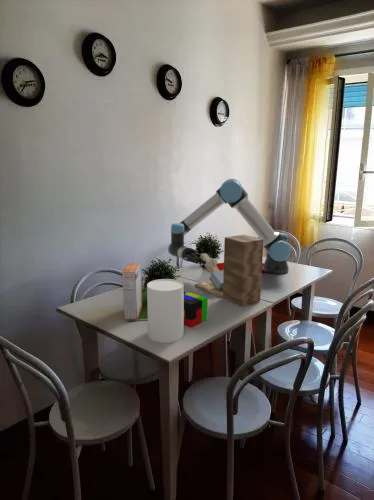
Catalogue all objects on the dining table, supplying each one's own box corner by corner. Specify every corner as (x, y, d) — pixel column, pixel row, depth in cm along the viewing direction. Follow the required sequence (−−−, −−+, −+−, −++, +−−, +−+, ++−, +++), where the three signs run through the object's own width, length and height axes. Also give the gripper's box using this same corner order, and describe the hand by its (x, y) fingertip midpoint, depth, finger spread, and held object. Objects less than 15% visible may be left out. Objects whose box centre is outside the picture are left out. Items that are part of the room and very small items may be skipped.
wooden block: (241, 293, 189) (243, 234, 182) (260, 301, 178) (263, 239, 171) (222, 298, 182) (224, 237, 175) (241, 306, 172) (244, 242, 164)
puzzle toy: (173, 320, 156) (173, 298, 154) (189, 314, 163) (189, 292, 161) (190, 328, 150) (191, 304, 147) (207, 320, 157) (207, 298, 155)
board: (214, 281, 206) (214, 279, 206) (240, 292, 190) (240, 290, 189) (194, 286, 199) (194, 283, 199) (220, 298, 182) (220, 295, 182)
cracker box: (129, 307, 170) (127, 262, 166) (142, 307, 170) (141, 262, 165) (123, 320, 157) (121, 271, 152) (137, 320, 157) (136, 272, 152)
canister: (175, 345, 136) (175, 292, 131) (141, 339, 140) (140, 288, 136) (188, 329, 148) (188, 281, 143) (157, 324, 153) (156, 277, 148)
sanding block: (207, 258, 204) (210, 251, 201) (229, 287, 192) (233, 280, 189) (195, 260, 200) (198, 253, 197) (217, 290, 187) (221, 283, 184)
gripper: (198, 258, 218) (225, 267, 199) (175, 262, 209) (200, 272, 190) (198, 245, 216) (225, 254, 198) (175, 249, 207) (200, 258, 189)
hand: (213, 263), depth 194 cm, fingers closed on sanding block, 3 cm apart
